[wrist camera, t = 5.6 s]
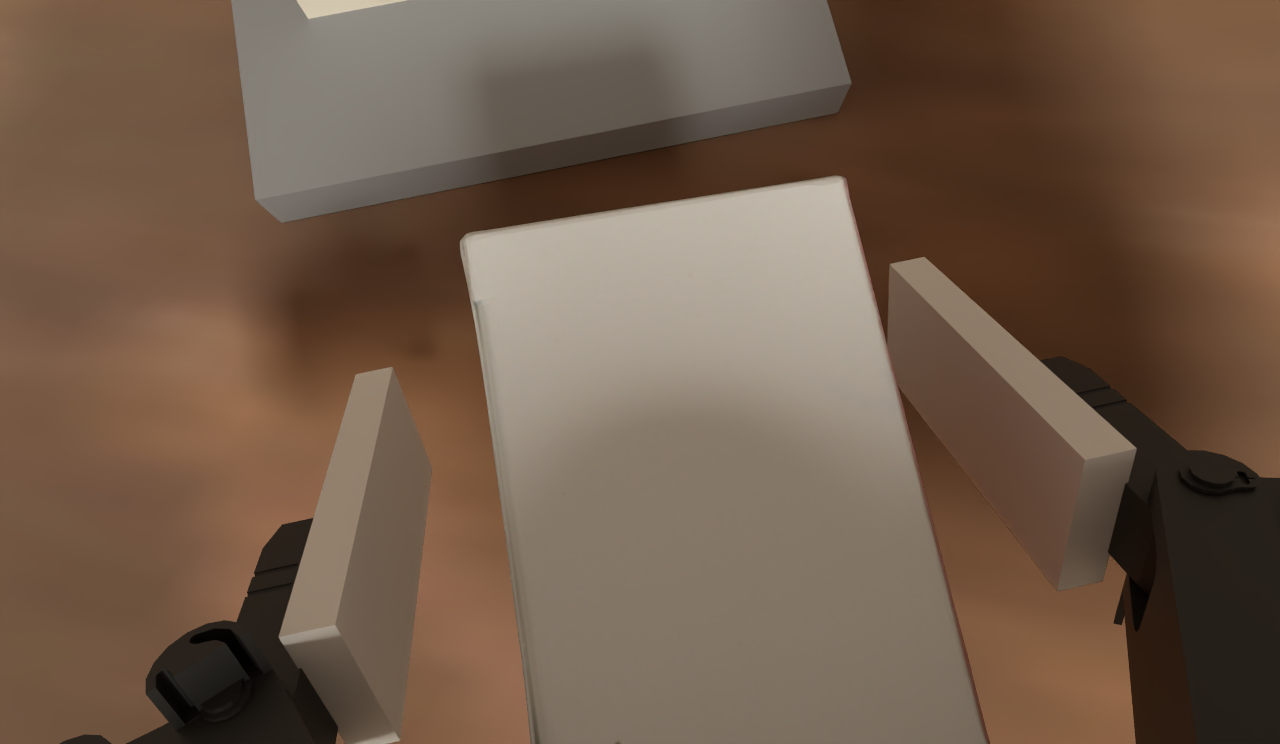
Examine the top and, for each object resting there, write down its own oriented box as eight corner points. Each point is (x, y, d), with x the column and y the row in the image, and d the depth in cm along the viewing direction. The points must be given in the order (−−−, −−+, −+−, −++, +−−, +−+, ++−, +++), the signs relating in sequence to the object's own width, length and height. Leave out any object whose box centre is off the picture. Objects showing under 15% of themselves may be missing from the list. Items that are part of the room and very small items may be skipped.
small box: (815, 653, 19) (1012, 783, 9) (592, 693, 19) (536, 873, 9) (751, 344, 21) (856, 158, 11) (545, 379, 21) (452, 224, 11)
